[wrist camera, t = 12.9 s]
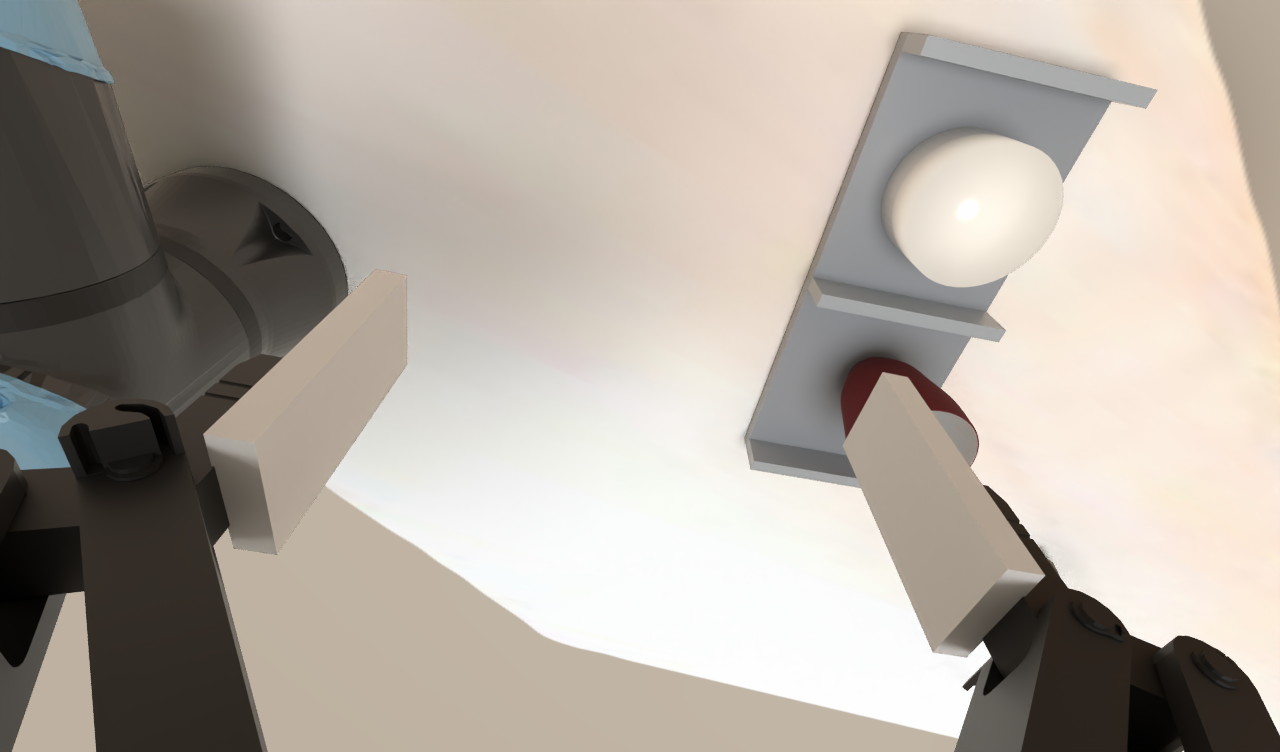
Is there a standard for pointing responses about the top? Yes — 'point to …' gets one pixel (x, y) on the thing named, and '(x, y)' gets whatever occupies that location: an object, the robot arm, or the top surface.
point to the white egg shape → (971, 205)
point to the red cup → (936, 399)
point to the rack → (877, 271)
